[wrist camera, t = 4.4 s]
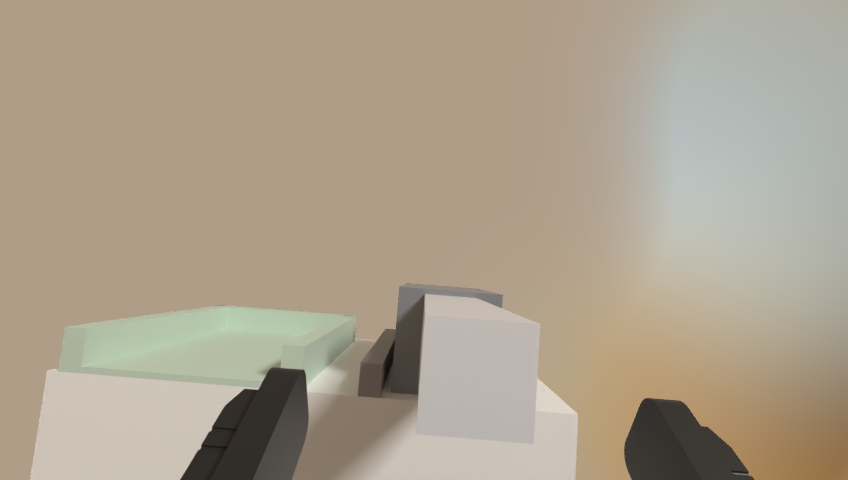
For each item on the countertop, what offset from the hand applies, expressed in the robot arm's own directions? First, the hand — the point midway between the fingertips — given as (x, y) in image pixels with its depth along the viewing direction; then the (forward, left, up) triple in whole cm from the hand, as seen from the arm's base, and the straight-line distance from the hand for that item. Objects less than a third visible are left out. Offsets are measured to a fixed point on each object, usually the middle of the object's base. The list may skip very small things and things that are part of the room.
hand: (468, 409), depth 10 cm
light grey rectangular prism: (-5, -8, -2) cm, 10 cm away
